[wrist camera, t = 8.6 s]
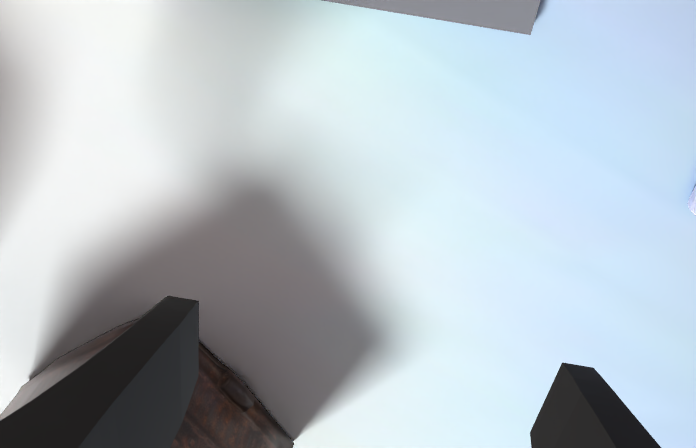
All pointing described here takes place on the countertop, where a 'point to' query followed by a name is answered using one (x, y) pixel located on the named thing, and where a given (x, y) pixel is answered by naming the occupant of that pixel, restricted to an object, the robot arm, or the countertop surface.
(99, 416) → the robot arm
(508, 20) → the slate mat
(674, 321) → the countertop surface
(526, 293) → the countertop surface
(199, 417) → the coffee grinder
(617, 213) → the countertop surface
